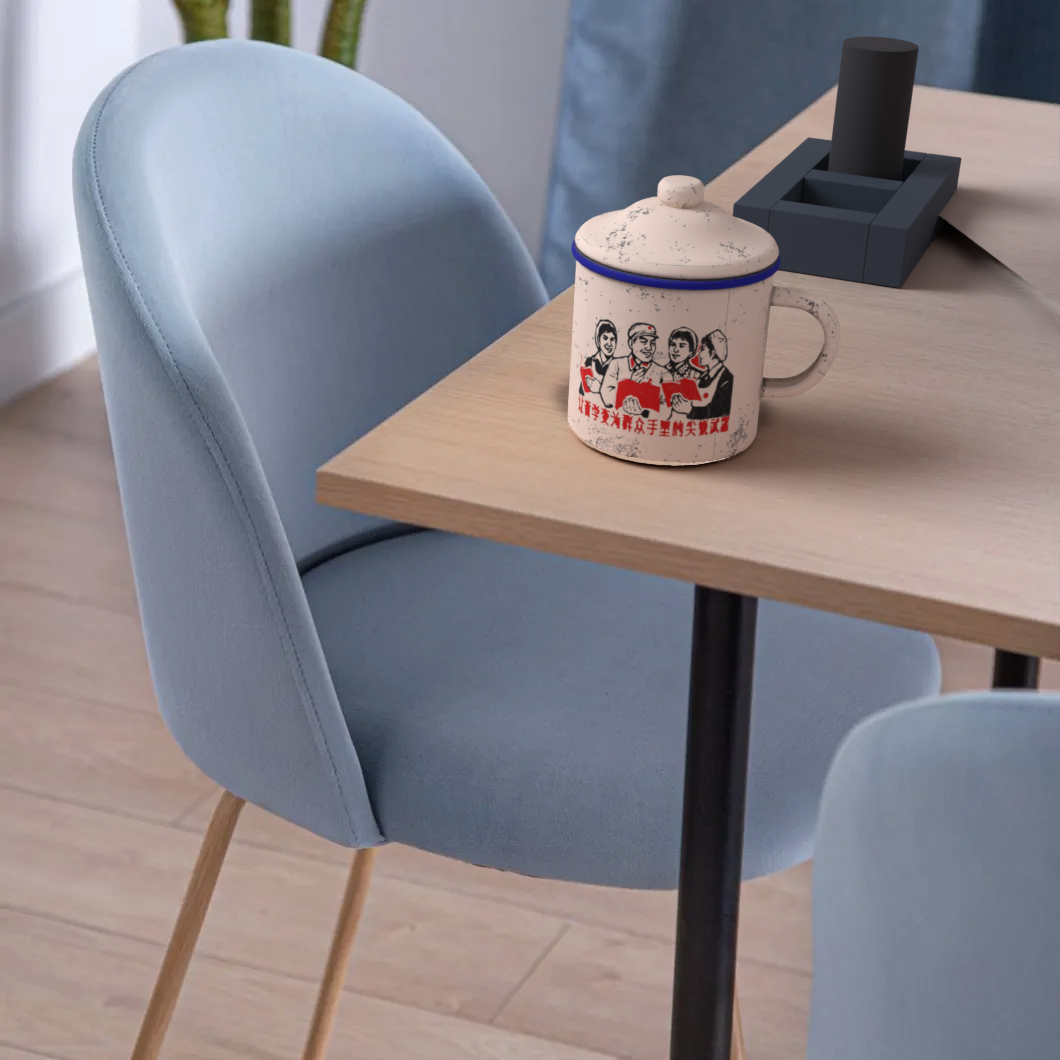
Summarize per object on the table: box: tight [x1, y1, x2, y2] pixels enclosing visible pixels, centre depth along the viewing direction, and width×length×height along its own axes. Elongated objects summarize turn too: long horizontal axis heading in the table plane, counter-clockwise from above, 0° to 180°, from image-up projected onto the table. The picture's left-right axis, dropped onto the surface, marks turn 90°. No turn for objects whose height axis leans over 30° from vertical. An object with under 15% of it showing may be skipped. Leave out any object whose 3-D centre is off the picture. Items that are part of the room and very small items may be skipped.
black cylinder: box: [828, 36, 920, 181], centre depth 111 cm, size 5×5×11 cm
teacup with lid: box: [567, 174, 841, 463], centre depth 78 cm, size 12×9×12 cm
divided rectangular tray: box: [732, 136, 962, 289], centre depth 109 cm, size 10×18×4 cm, turn 158°
